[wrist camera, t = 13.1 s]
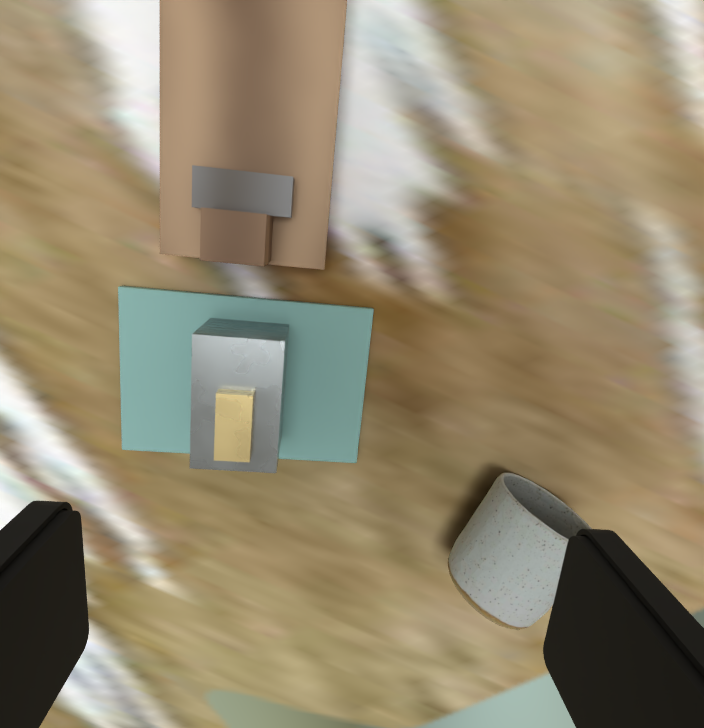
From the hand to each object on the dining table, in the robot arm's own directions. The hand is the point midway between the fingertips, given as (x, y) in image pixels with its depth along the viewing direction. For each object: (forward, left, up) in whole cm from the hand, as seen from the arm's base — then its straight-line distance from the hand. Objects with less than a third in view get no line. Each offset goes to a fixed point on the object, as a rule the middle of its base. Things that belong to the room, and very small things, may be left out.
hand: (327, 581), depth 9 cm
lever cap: (+4, +4, -24) cm, 24 cm away
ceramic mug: (-16, +14, -25) cm, 33 cm away
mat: (+5, +4, -24) cm, 25 cm away
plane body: (+5, -14, -24) cm, 28 cm away
